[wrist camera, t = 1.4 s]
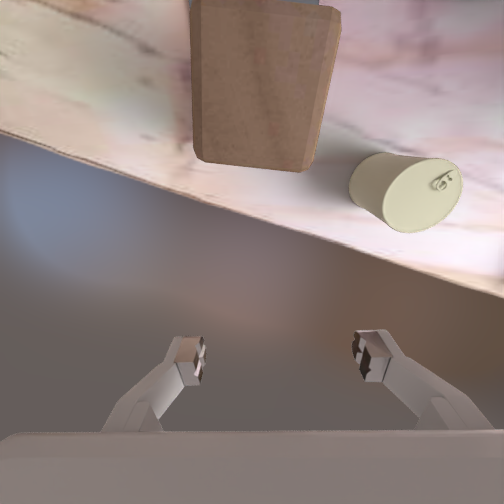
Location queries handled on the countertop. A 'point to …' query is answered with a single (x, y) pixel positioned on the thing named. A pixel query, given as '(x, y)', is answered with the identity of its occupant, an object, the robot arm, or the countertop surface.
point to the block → (260, 80)
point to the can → (406, 190)
